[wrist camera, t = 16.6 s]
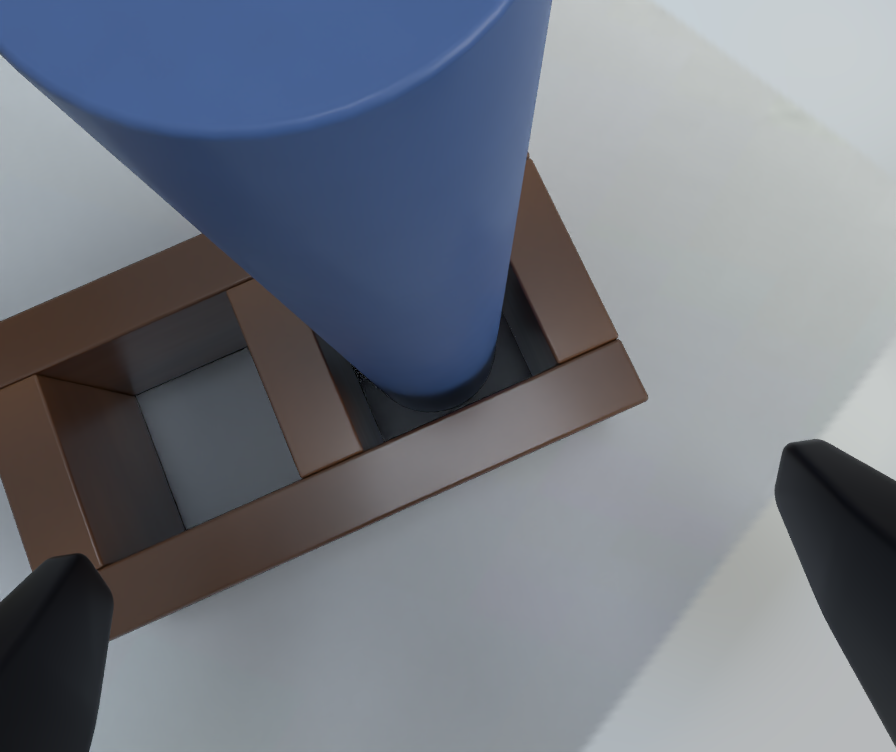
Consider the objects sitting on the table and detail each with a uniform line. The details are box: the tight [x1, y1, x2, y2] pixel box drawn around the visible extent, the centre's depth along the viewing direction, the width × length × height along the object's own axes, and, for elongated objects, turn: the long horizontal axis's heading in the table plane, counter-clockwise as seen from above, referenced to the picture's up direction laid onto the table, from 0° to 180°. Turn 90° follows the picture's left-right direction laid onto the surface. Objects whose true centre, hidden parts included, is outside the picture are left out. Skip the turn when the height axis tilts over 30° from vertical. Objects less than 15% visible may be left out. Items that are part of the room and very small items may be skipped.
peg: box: [0, 0, 552, 412], centre depth 10 cm, size 3×3×14 cm
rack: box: [0, 152, 648, 641], centre depth 15 cm, size 7×12×4 cm, turn 114°
